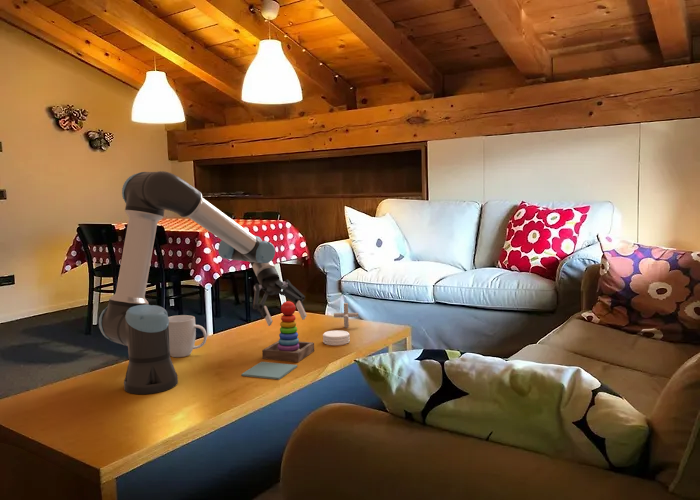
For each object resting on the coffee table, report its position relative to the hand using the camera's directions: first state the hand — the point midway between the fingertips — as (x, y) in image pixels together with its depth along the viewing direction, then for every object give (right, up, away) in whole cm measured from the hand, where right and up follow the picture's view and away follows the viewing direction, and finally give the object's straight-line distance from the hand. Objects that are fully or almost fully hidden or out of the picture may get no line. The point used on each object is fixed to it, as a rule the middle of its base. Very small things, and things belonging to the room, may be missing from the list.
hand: (288, 320), depth 202 cm
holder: (0, -12, -1) cm, 12 cm away
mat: (-4, -14, -18) cm, 23 cm away
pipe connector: (+20, -7, +37) cm, 43 cm away
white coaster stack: (+16, -10, +15) cm, 24 cm away
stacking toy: (0, -12, 0) cm, 12 cm away
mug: (-37, -12, +2) cm, 39 cm away
